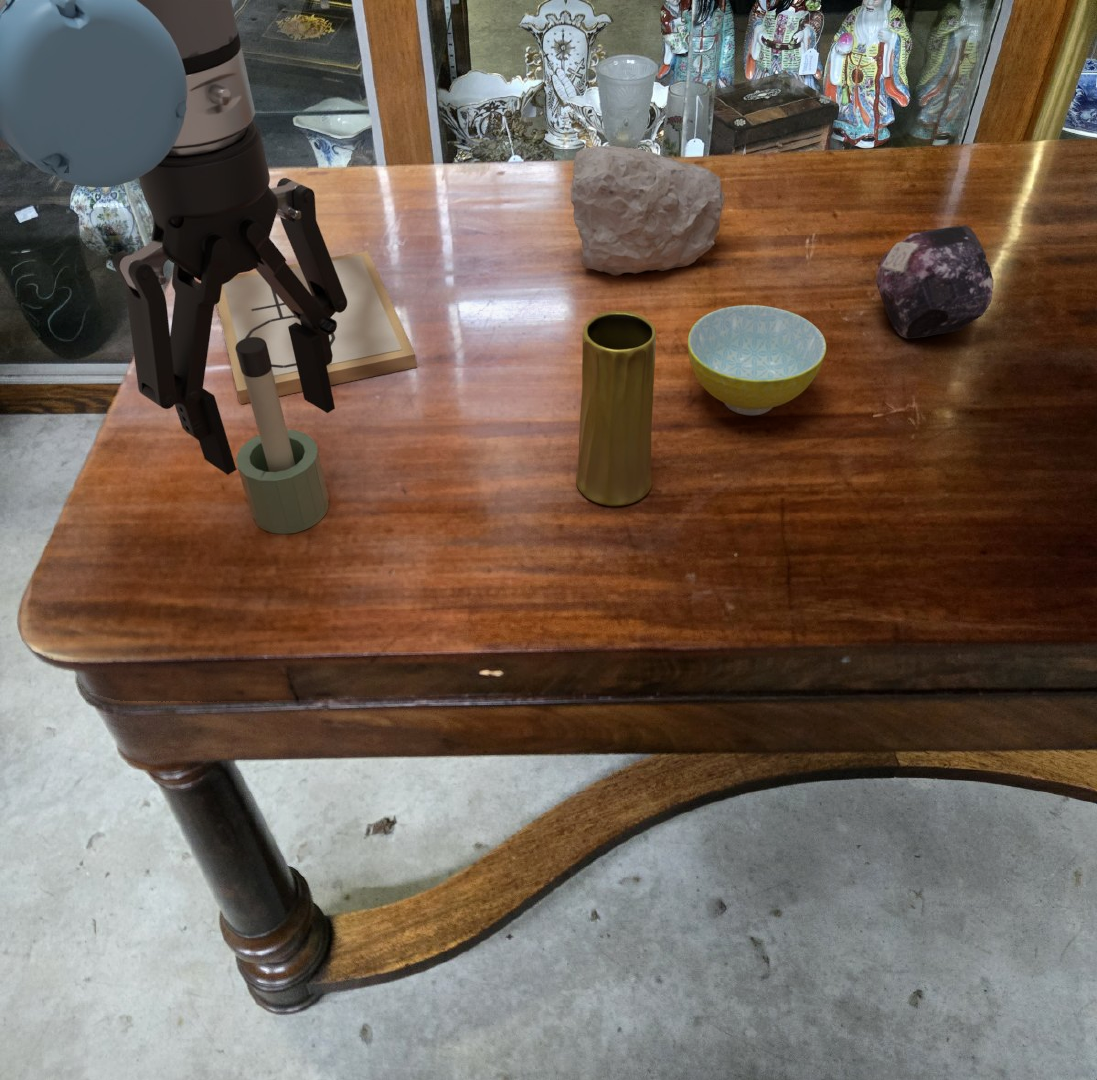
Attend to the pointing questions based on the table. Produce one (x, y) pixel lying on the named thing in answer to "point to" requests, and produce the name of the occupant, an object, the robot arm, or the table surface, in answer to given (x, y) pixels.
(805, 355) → the bowl
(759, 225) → the table surface
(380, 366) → the sketch board
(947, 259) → the mineral specimen
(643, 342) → the vase
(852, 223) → the table surface
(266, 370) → the pen
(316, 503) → the pencil pot
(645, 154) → the rough grey rock
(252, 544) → the table surface
